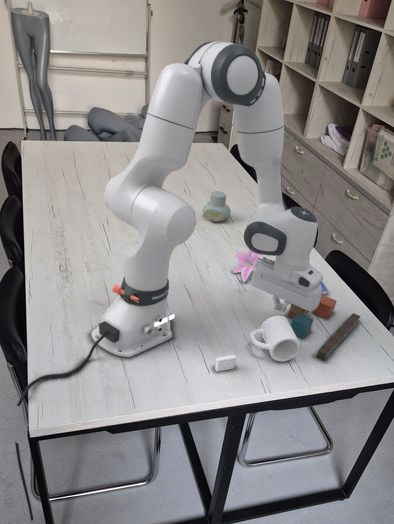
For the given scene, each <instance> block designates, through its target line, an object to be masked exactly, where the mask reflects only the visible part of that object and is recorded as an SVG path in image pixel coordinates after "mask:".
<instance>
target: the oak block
mask: <svg viewBox="0 0 394 524" xmlns="http://www.w3.org/2000/svg"><path fill="white" fill-rule="evenodd" d="M298 313H301V314H304V315H306V316H308V317H309V313H310V311H307V310H305V309H303V308H301V307H298V306H296V305H294V304H292V303H290V307H289V310H288V313H287V316H288V317H290V318H291V319H293V318H294V317H295V316H296V315H297V314H298Z"/></svg>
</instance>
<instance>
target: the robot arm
mask: <svg viewBox="0 0 394 524" xmlns="http://www.w3.org/2000/svg"><path fill="white" fill-rule="evenodd" d="M210 100H213V101H215V102H216V101H217V102H221V103H227V104H229V105H232V108H233V110H234V116H235V134H236V143H237V148H238V152H239V156H240V158H241V160H242V161H243V162H244V163H245V164H246V165H248V166H249V167H252V168H253V169H254V170H255V175H256V181H257V191H258V192H257V193H258V204H257V207H256V210H255V212H254V214H253V216H252V218H251V219H250V221H249V222H248V225H246V227H245V229H244V232H243V240H244V244H245V245H246V247H247V249H248V248H249V249H250V250H251V251H252V252H254V253H257V254H261V255H262V257H259V258H257V260H256V263H255V271H253V273H252V277H251V280H250V284H251V286H252V287H254V288H256V289H258V290H261V291H263V292H265V293H267V294H270V295H272V300H273V302H274V308H273V309H274V310H276V311H279V312H281V313H285V312H286V311H287V307H288V306H289V305H291V303H292V304H294V305H296V306H298V307H301V308H303V309H305V310H307V311H309V313H311V312H314V310H315V309H316V308H317V307H318V305H319V303H320V299H321V297H322V294H321V293H322V286H321V284H320V282H322V281H323V279H324V275H323V273H322V272H320V271H319V270H318V269H317V268H316V267H314V266H313V265H312V264H311V263H310V254H311V252H312V250H313V249H314V246H315V242H316V237H317V233H318V219H317V217H316V215H315V214H314V213H313V212H312V211H311V210H309V209H308V208H305V207H302V206H292V207H291V208H288V207H287V204H286V203H285V200H284V195H283V179H282V160H283V159H282V158H283V152H284V151H283V150H284V143H285V141H284V140H285V115H284V106H283V98H282V91H281V87H280V84H279V80H278V79H277V77H275V76H274V75H273V74H270V73H268V72H265V71H264V69H263V66H262V63H261V61H260V58H259V57H258V55H257V54H256V53H255V51H253V50H252V49H251V48H249V47H248V46H247V45H244V44H241V43H233V42H230V41H228V40H218V41H217V40H216V41H207V42H204V43H202V44H200V45H199V46H197V48H195V49H194V50H193V52H192V53H191V54H190V56H189V57H188V58H187V59H186V60H185V62H183V63H182V62H175V63H174V62H173V63H169V64H167V65H165V67H164V68H162V70H161V72H160V75H159V76H158V78H157V81H156V84H155V86H154V89H153V91H152V94H151V97H150V101H149V104H148V108H147V111H146V116H145V120H144V124H143V128H142V131H141V132H142V133H141V135H140V139H139V141H138V146H137V148H136V151H135V153H134V155H133V157H132V159H131V160H130V162H129V163H128V165H127V166H126V167H125V169H123V170H122V171H121V172H120V173H118V174H116V175H114V176H113V177H111V179H110V180H108V183H107V184H106V186H105V189H104V193H103V201H104V204H105V206H106V208H107V209H108V210H109V211H110V212H111V213H112V214H113V215H114V216H115V218H117V219H119V220H120V221H121V222H123V223H125V224H127V225H129V226H130V227H133V228H134V229H136V230H137V231H138V236H139V237H138V241H135V242H134V243H132V244H131V245H129V247H127V249H126V251H125V252H124V276H123V278H122V280H121V284H120V286H119V285H118V284H115V285H113V287H112V289H111V290H112V292H113V293H114V294H117V296H116V297H115V299H114V300H113V301H112V302H111V304H110V305H109V306H108V307H107V309H106V310H105V311H104V312H103V314H102V316H101V319H100V323H99V324H98V326H97V327H95V328H94V329H93V330H92V331H91V338H92V340H93V342H94V343H93V345H92V346H91V348H90V350H89V352H88V354H87V356H86V358H85V359H84V360H83V361H82V362H81V363H80V364H79V365H78V366H77V367H76V368H74V369H72V370H70V371H67V372H62V373H52V374H45V375H41V376H39V377H37V378H35V379H34V380H33V381H31V382H30V383H28V385H27V386H26V387H25V389H23V391H22V393H21V395H20V397H19V400H18V402H17V404H16V406H17V407H20V406H21V405H22V403H23V401H24V399H25V397H26V395H27V393H28V391H29V390H30V388H31V387H32V386H33V385H35V384H38V382H40V381H42V380H45V379H49V378H50V379H51V378H61V377H62V378H63V377H67V376H70V375H72V374H74V373H76V372H78V371H80V370H81V369H82V368H83V367H84V366H85V365H86V364H87V362H88V361H89V360H90V358H91V357H92V355H93V353H94V350H95V349H96V347H97V346H99V347H100V348H102V349H103V350H105V351H106V352H109V353H110V354H113V355H115V356H119V357H121V358H131V357H134V356H136V355H138V354H141V353H142V352H145V351H147V350H149V349H151V348H153V347H155V346H158V345H159V344H162V343H165V342H166V341H169V340H171V339H172V338H173V332H172V330H171V320H174V319H175V314H171V315H170V306H169V301H168V296H169V291H170V280H169V270H170V269H169V268H170V259H171V255H172V254H173V251H174V250H175V248H176V247H177V246H181V245H182V244H184V243H186V242H187V241H189V239H190V238H191V236H193V234H194V231H195V229H196V227H197V214H196V211H195V209H194V207H192V206H191V205H190V204H189V203H188V202H187V201H185V200H184V199H183V198H182V197H181V196H179V195H178V194H175V193H173V192H171V191H169V190H167V189H164V188H163V185H164V183H165V181H166V179H167V177H168V176H169V175H170V174H171V173H173V172H176V171H179V170H182V169H183V167H184V166H186V164H187V162H188V159H189V156H190V152H191V149H192V145H193V141H194V138H195V134H196V130H197V127H198V123H199V120H200V116H201V115H200V114H202V111H203V109H204V107H205V106H206V104H207V103H208V102H209V101H210ZM265 256H272V257H273V256H274V257H275V259H274V260H273V259H270V258H267V257H265ZM281 300H283V303H282V302H281ZM14 445H15V452H16V458H17V464H18V469H19V474H20V479H21V481H22V486H23V491H24V494H25V498H26V504H27V507H28V512H29V516H30V521H31V522H33V521H34V514H33V509H32V504H31V500H30V496H29V491H28V486H27V483H26V478H25V475H24V469H23V464H22V460H21V459H22V458H21V453H20V447H19V446H20V445H19V443H18V442H17V441H14Z"/></svg>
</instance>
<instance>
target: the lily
mask: <svg viewBox="0 0 394 524" xmlns="http://www.w3.org/2000/svg"><path fill="white" fill-rule="evenodd" d="M233 255H234V258H235V260H236V262H237V263H238V265H237V266H236V267H235V268H234V270H233V274H236V273H240V275H241V280H242V282H243V284H244V283H246V282H247V280H248V279H249V277H250V274H251V273H252V272H254V271H255V263H256V260H257V258H259V257H263V255H261V254H257V253H254V252H252V251H251V250H250V249H249V248H248V247H247V250H246V252H244V251H234V253H233Z"/></svg>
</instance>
